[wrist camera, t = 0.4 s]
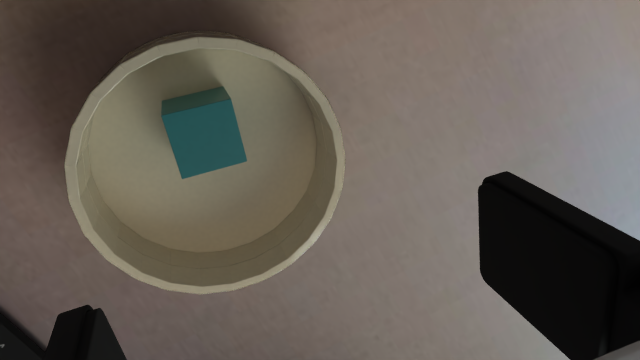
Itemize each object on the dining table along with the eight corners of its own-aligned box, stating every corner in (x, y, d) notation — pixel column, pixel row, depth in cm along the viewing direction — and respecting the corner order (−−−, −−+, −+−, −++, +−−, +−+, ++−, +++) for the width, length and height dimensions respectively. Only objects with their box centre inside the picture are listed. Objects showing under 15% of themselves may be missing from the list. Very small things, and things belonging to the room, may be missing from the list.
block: (161, 100, 29) (160, 115, 25) (223, 85, 30) (231, 98, 26) (180, 157, 31) (182, 179, 27) (238, 142, 31) (247, 161, 28)
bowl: (35, 62, 27) (9, 76, 22) (299, 7, 30) (322, 10, 26) (131, 282, 33) (125, 326, 29) (336, 218, 37) (360, 249, 32)
